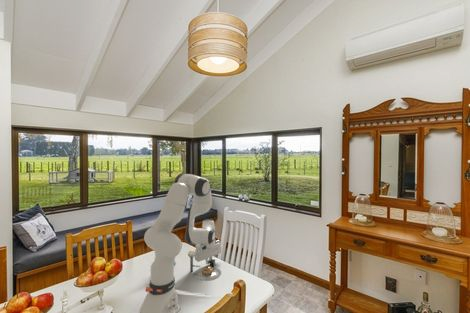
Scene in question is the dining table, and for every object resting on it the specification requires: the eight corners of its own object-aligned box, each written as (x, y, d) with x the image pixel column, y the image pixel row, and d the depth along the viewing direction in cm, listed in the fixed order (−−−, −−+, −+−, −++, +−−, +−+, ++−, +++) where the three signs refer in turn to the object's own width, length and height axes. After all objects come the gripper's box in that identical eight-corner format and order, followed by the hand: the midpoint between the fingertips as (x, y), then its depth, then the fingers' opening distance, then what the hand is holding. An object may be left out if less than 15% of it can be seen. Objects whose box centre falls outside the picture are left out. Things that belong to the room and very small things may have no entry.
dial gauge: (187, 274, 146) (187, 251, 146) (189, 271, 150) (189, 249, 150) (199, 276, 144) (199, 253, 144) (201, 272, 148) (201, 250, 148)
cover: (210, 276, 141) (210, 270, 141) (199, 274, 144) (199, 268, 144) (214, 270, 148) (214, 265, 148) (204, 269, 150) (204, 263, 150)
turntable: (217, 283, 135) (217, 276, 135) (190, 280, 139) (190, 273, 139) (225, 266, 155) (225, 260, 155) (201, 263, 159) (201, 258, 159)
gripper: (217, 237, 165) (217, 256, 165) (193, 246, 151) (193, 266, 151) (223, 240, 160) (223, 260, 161) (198, 249, 146) (198, 270, 146)
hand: (208, 263), depth 156 cm, fingers closed
